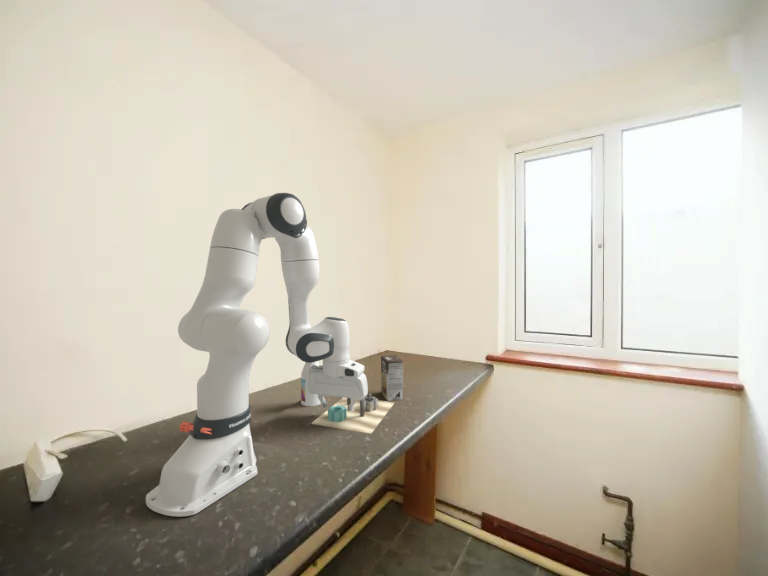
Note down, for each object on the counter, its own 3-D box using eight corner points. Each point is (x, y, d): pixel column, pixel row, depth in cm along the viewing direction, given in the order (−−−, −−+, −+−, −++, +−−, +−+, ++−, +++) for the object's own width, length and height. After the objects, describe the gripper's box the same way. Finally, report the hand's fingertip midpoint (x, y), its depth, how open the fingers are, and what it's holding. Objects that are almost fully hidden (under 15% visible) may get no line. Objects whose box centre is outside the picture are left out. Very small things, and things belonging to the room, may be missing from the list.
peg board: (371, 438, 86) (371, 416, 86) (310, 428, 93) (310, 407, 93) (394, 406, 109) (394, 388, 109) (345, 399, 116) (345, 383, 116)
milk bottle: (325, 402, 113) (325, 349, 113) (318, 410, 106) (318, 354, 105) (305, 401, 114) (305, 349, 114) (297, 409, 106) (297, 353, 106)
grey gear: (376, 412, 101) (376, 403, 101) (359, 410, 102) (359, 402, 102) (379, 405, 107) (379, 396, 107) (363, 404, 108) (363, 395, 108)
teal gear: (341, 423, 93) (341, 413, 93) (324, 420, 95) (324, 411, 95) (349, 415, 98) (349, 406, 98) (333, 413, 100) (333, 404, 100)
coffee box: (380, 396, 119) (380, 355, 119) (395, 394, 121) (395, 354, 121) (387, 405, 111) (387, 361, 110) (403, 403, 112) (403, 360, 112)
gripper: (303, 367, 97) (304, 409, 98) (362, 372, 91) (362, 417, 92) (313, 361, 103) (314, 401, 104) (369, 366, 97) (369, 408, 98)
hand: (337, 408), depth 98 cm, fingers open, 8 cm apart
